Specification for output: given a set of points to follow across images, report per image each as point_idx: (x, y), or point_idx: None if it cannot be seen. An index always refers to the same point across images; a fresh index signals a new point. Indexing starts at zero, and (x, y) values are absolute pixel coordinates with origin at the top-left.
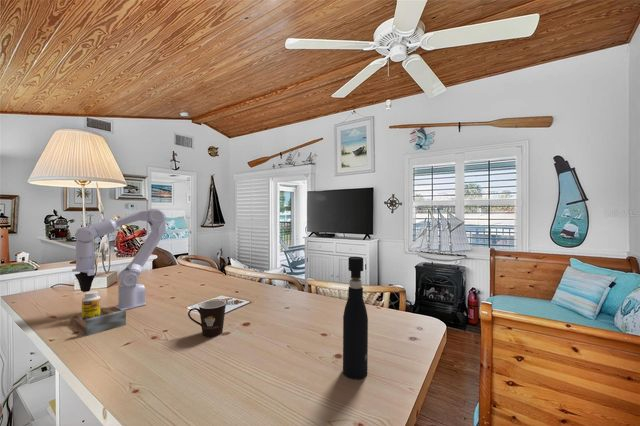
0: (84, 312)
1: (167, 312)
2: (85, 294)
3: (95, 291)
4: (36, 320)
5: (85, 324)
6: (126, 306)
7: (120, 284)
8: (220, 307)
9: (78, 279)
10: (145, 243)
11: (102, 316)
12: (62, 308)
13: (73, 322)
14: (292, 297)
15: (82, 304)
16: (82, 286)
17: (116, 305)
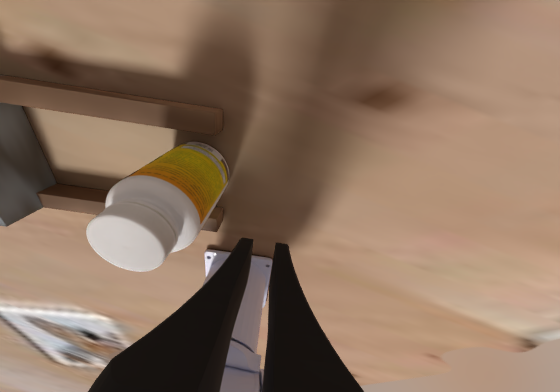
0: (164, 154)
1: (94, 285)
2: (109, 211)
3: (131, 264)
4: (413, 19)
5: (34, 98)
6: (210, 268)
7: (232, 357)
8: None
9: (275, 332)
10: None
11: None
12: (466, 172)
13: (178, 103)
14: (40, 387)
15: (155, 167)
16: (219, 268)
17: (269, 264)
